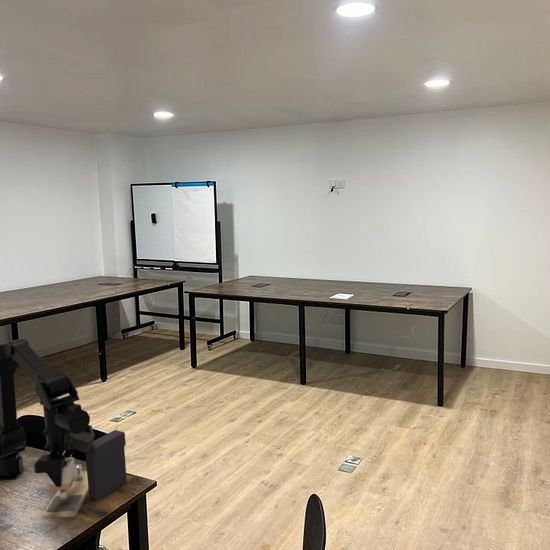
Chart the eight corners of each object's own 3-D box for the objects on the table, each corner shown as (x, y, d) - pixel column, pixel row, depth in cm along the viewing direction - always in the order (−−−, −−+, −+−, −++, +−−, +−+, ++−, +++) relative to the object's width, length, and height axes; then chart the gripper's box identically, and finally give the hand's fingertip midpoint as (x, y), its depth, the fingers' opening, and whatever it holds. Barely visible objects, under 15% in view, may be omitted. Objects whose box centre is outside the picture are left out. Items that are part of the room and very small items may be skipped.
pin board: (42, 518, 135) (42, 514, 135) (69, 475, 156) (69, 471, 155) (75, 516, 135) (75, 512, 135) (97, 473, 156) (97, 469, 156)
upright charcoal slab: (117, 478, 153) (113, 428, 151) (128, 482, 151) (125, 431, 149) (86, 498, 143) (82, 445, 141) (98, 502, 141) (94, 448, 139)
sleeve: (49, 490, 136) (47, 468, 135) (56, 480, 141) (54, 458, 140) (69, 489, 136) (67, 467, 135) (75, 478, 141) (73, 457, 140)
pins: (59, 506, 138) (58, 491, 138) (76, 477, 152) (74, 464, 152) (67, 505, 138) (66, 491, 138) (83, 477, 152) (82, 464, 152)
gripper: (78, 438, 127) (83, 499, 130) (99, 407, 146) (103, 461, 148) (30, 440, 127) (36, 502, 129) (57, 409, 145) (62, 463, 148)
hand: (62, 481), depth 138 cm, fingers closed on sleeve, 5 cm apart
